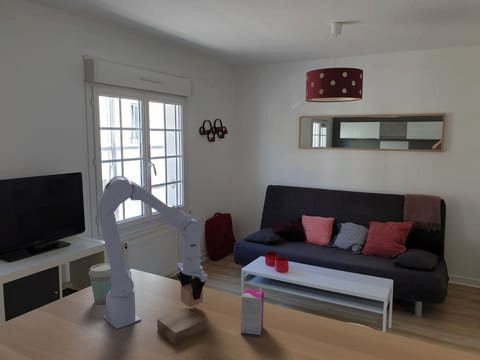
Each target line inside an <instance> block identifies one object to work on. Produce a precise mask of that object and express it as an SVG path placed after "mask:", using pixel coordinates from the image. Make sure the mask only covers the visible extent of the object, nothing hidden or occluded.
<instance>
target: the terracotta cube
mask: <svg viewBox="0 0 480 360" xmlns="http://www.w3.org/2000/svg"><path fill="white" fill-rule="evenodd" d="M203 295H204V294H203V289H202V292H201V296H200V299H197V300H194V299H193V292H192V287H191V284H189V285H186V286H180V302H181V303H183V304H184V305H186V306H188V307H189V308H191V307H193V306H196V305H199V304H201V303H203V302H204V301H203Z"/></svg>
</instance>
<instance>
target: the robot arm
mask: <svg viewBox="0 0 480 360" xmlns="http://www.w3.org/2000/svg"><path fill="white" fill-rule="evenodd" d="M129 199H130V201H140V202H142V203H143V204H146V205H147V206H149V207H151V208H152V209H153V210H155V211H156V212H157V213H160V215H161V220H162V221H163V222H165V223H166V224H168V225H169V226H171V227H172V228H174V229H175V230H176V231H179V232H181V233H182V240H181V241H182V242H181V248H182V249H181V250H182V252H181V253H182V256H181V258H182V259H181V260H182V262H179V263H176V265H175V266H176V270H177V271H179V272H177V273H176V277H177V279H178V281H179V282H180V287H182V286H186V285H189V284H191V287H192V292H193V299H194V300H197V299H200V296H201V292H202V289H203V288H204V286H205V284H206V283H207V281H208V280H209V278H208V277H209V276H208V274H207V273H205V271H204V270H203V268H204V267H203V265H201V236H202V233H203V228H202V226H201V224H200V223H199V222H198V221H197V220H196V219H195V218H194V217H193V216H192V215H191V214H189V213H188V214H187V213H186V212H185V211H183V210H181V206H179V205H178V204H176V205H175V204H166V203H164V202H163V201H162V200H160V198H158V197H156V196H155V195H154V194H152V193H151V192H150V191H149V190H148V189H146V188H144V187H143V186H142V185H140V184H138V183H136V182H134V181H132V180H130V181H129V179H128V178H127V177H125V176H123V175H116V176H113V177H112V178H110V180H109V181H108V182H107V183H106V184H105V186H104V189H103V191H102V194H101V196H100V198H99V200H98V203H97V205H96V211H97V216H98V221H99V224H100V230H101V233H102V238H103V241H104V242H103V243H104V246H105V250H106V253H107V259H108V264H110V268H111V275H110V279H111V284H112V286H111V290H110V291H109V292H108V293H107V296H106V304H105V305H106V306H105V309H106V315H104V316H103V318H104V320H106V321H107V322H108V323H109V324H110V325H111V326H113V327H114V328H115V329H117V330H118V329H119V330H120V328H123V327H124V328H125V327H126V326H128V325H133V324H135V323H137V322H140V321H142V318H141V317H139V316H138V315H137V314H136V298H135V297H136V295H135V291H136V290H135V288H134V287H135V284H134V280H133V278H132V272H131V270H130V269H129V268H128V266H127V264H126V258H125V254H124V250H123V245H122V241H121V237H120V232H119V228H118V223H117V220H116V219H117V218H116V214H115V212H116V211H117V209H118V208H119V206H120V205H122V204H123V203H124V202H126V201H127V200H129ZM193 277H194V278H193Z"/></svg>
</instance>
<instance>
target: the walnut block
mask: <svg viewBox="0 0 480 360" xmlns="http://www.w3.org/2000/svg"><path fill="white" fill-rule="evenodd" d="M206 321H207V320H206V319H204V318H202V317H201V316H199V315H198V314H196V313H195V312H193V311H191V310H189V309H188V308H183V309H181V310H178V311H175V312H172V313H169V314H168V315H167V314H166V315H164V316H163V317H159V318H157V320H156V323H157V332H158V333H159V334H161V335H162V336H163V337H165V338H166V339H167V340H168V341H170V342H171V343H172V344H174V345H175V346H179V345H180V344H183V343H185V342H187V341H189V340H192V339H194V338H196V337H198V336H201V335H203V334H206V332H207V329H206V328H207V326H206V324H207V323H206Z"/></svg>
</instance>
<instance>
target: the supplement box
mask: <svg viewBox="0 0 480 360" xmlns="http://www.w3.org/2000/svg"><path fill="white" fill-rule="evenodd" d="M264 299H265V291H264V290H262V289H261V290H259V289H252V288H251V289H250V288H245V290H244V291H243V294H242V296H241V316H240V317H241V319H240V320H241V321H240V335H241V336H252V337H261V333H262V330H263V328H264V303H265V302H264Z"/></svg>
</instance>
